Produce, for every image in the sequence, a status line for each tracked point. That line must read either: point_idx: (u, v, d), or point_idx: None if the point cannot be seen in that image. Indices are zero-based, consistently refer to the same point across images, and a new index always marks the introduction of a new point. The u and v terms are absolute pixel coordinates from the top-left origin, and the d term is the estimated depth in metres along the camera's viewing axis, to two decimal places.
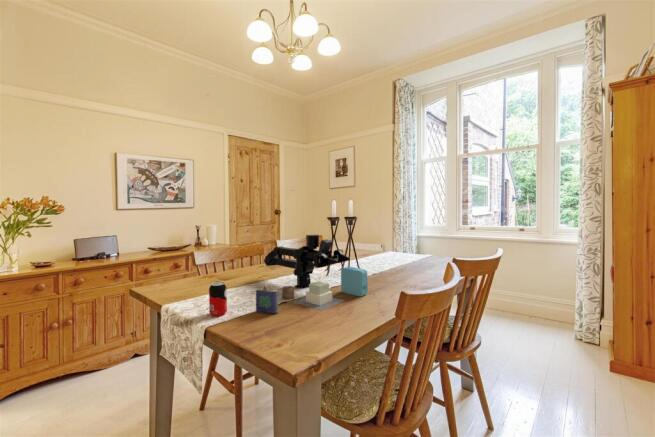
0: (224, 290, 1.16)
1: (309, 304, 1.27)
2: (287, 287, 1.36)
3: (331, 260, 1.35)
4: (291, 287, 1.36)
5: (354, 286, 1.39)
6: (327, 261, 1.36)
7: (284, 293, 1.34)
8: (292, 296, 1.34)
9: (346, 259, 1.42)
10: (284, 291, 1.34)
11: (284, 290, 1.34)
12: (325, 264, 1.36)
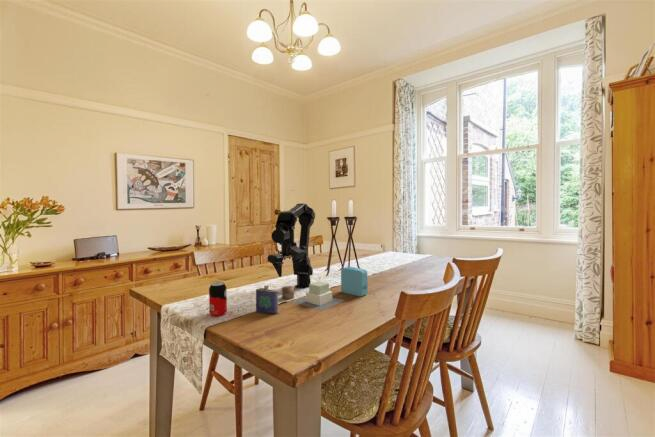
0: (224, 290, 1.16)
1: (309, 304, 1.27)
2: (287, 287, 1.36)
3: (279, 271, 1.31)
4: (291, 287, 1.36)
5: (354, 286, 1.39)
6: (277, 267, 1.31)
7: (284, 293, 1.34)
8: (292, 296, 1.34)
9: (294, 269, 1.39)
10: (284, 291, 1.34)
11: (284, 290, 1.34)
12: (274, 265, 1.31)
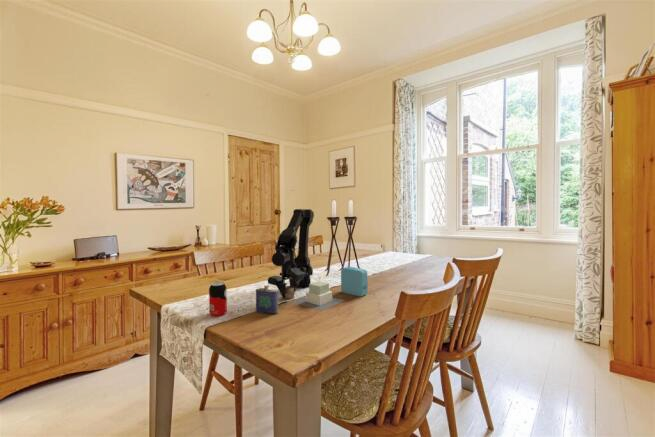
0: (224, 290, 1.16)
1: (309, 304, 1.27)
2: (287, 287, 1.36)
3: (282, 292, 1.33)
4: (291, 287, 1.36)
5: (354, 286, 1.39)
6: (281, 288, 1.33)
7: None
8: (292, 296, 1.34)
9: None
10: None
11: None
12: (278, 286, 1.33)
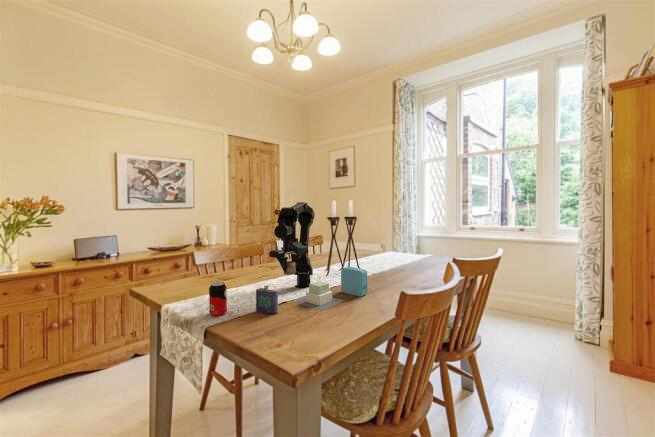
0: (224, 290, 1.16)
1: (309, 304, 1.27)
2: (289, 262, 1.35)
3: (284, 266, 1.32)
4: (293, 262, 1.35)
5: (354, 286, 1.39)
6: (282, 262, 1.32)
7: None
8: (293, 271, 1.33)
9: None
10: None
11: None
12: (279, 260, 1.32)
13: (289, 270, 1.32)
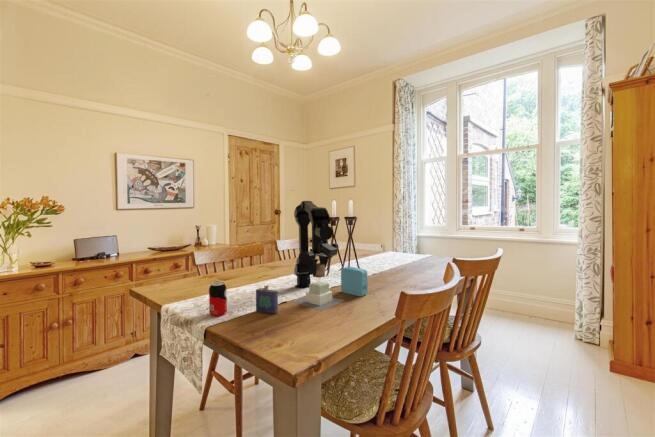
0: (224, 290, 1.16)
1: (309, 304, 1.27)
2: (318, 264, 1.30)
3: (313, 269, 1.27)
4: (322, 264, 1.30)
5: (354, 286, 1.39)
6: (312, 264, 1.27)
7: None
8: (323, 273, 1.29)
9: None
10: None
11: None
12: (308, 262, 1.28)
13: (319, 273, 1.28)
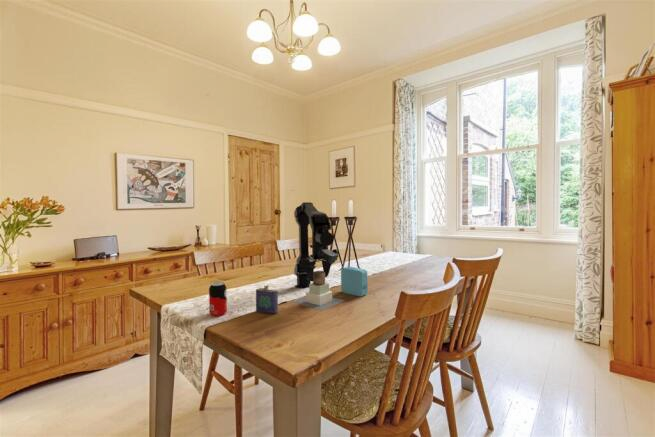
0: (224, 290, 1.16)
1: (309, 304, 1.27)
2: (318, 272, 1.30)
3: (310, 275, 1.26)
4: (322, 272, 1.30)
5: (354, 286, 1.39)
6: (309, 271, 1.26)
7: (316, 278, 1.28)
8: (323, 281, 1.29)
9: None
10: (315, 276, 1.28)
11: (315, 275, 1.28)
12: (306, 269, 1.26)
13: (319, 281, 1.28)
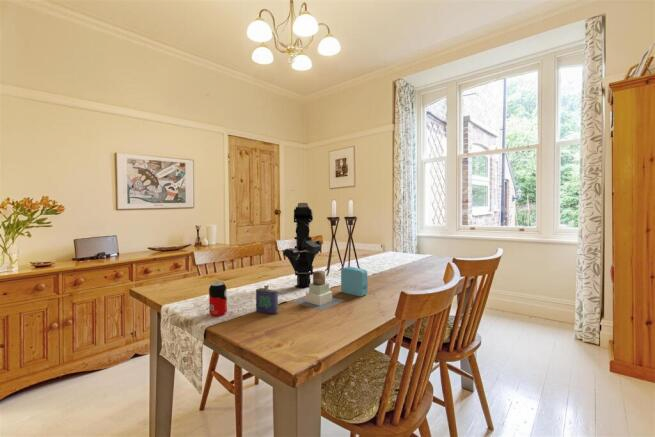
0: (224, 290, 1.16)
1: (309, 304, 1.27)
2: (318, 272, 1.30)
3: (294, 265, 1.32)
4: (322, 272, 1.30)
5: (354, 286, 1.39)
6: (293, 261, 1.32)
7: (316, 278, 1.28)
8: (323, 281, 1.29)
9: (309, 264, 1.40)
10: (315, 276, 1.28)
11: (315, 275, 1.28)
12: (290, 259, 1.32)
13: (319, 281, 1.28)
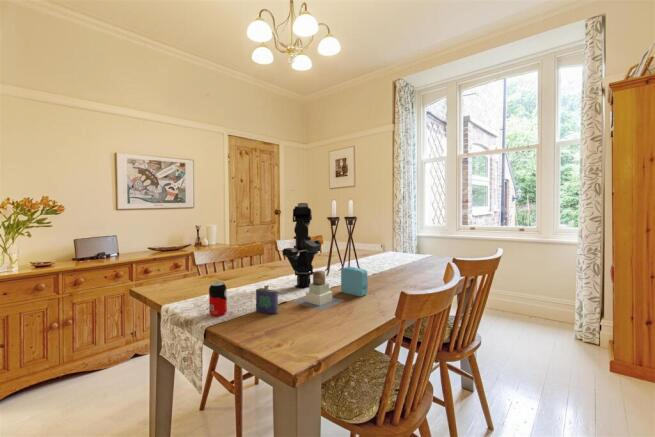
0: (224, 290, 1.16)
1: (309, 304, 1.27)
2: (318, 272, 1.30)
3: (293, 265, 1.32)
4: (322, 272, 1.30)
5: (354, 286, 1.39)
6: (292, 260, 1.32)
7: (316, 278, 1.28)
8: (323, 281, 1.29)
9: (308, 263, 1.40)
10: (315, 276, 1.28)
11: (315, 275, 1.28)
12: (289, 259, 1.33)
13: (319, 281, 1.28)
